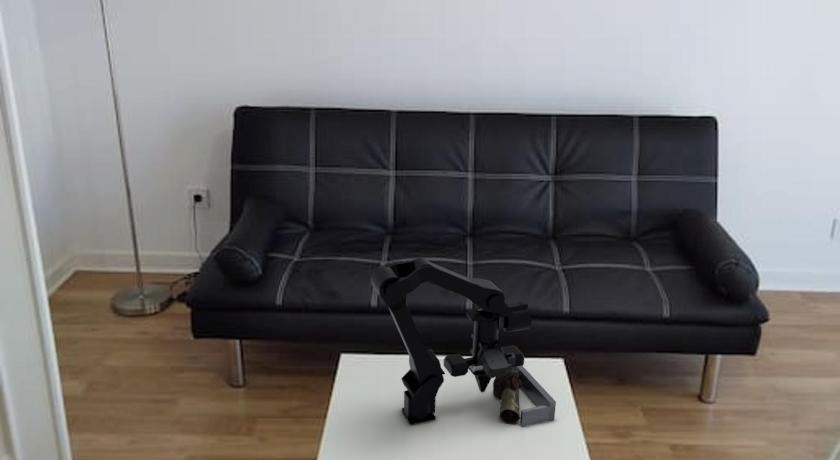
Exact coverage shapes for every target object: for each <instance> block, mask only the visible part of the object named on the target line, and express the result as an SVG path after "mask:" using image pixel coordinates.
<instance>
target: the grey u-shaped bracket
mask: <svg viewBox="0 0 840 460" xmlns="http://www.w3.org/2000/svg"><path fill="white" fill-rule="evenodd" d="M511 371H512V372H515V371H516V372H517V373H518V376H519V379H520V384H521V388H520V389H519V390H521V391H522V393H523V394H524V395H525V396H526V397H527V399H528V400H529V401H530V402H531V403H532V404H533V405H534V407H532V406H531V407H529V408H524V409H520V420H519V425H520V426H521V428H523V427H527V426H533V425H537V424H542V423H543V424H544V423H547V422H552V421H555V416H556V406H557V402H556V400H555V399H554V398H553V397H552V396H551V395H550V393H548V391H546V389H545V388H544V387H543V386H542V385H541V383H539V382H538V381H537V379H535V378H534V377H533V375H532V374H530V372H529V370H527V369H526V368H525V367H524V365H523V366H517V367H513V369H512V370H511Z"/></svg>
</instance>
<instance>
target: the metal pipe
mask: <svg viewBox="0 0 840 460" xmlns="http://www.w3.org/2000/svg"><path fill="white" fill-rule="evenodd" d="M492 387H493V388H492V394H493V397H494V398H495V399H497V400H499V401H500V409H499V416H498V417H499V419H500V421H501V422H503V423H504V424H507V425H517V424H518V423H519V422H520V415H521V409H520V395H519V394H520V390H521V389H520V388H521V384H520V379H519V376H518V373H517V372H516V371H515V372H512V371H511V370H507V372H506V375H505V376H498V377H494V379H493V383H492Z"/></svg>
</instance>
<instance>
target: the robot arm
mask: <svg viewBox="0 0 840 460" xmlns="http://www.w3.org/2000/svg"><path fill="white" fill-rule="evenodd" d="M401 278H402V279H401ZM427 282H428V283H430V284H432V285H435V286H438V287H440V288H442V289H445V290H448V291H450V292H452V293H456V295H460V296H462V297H465V298H466V299H468V300H470V301H471V302H472V303H473V304H475V306H477V307H479V309H477V307H475V306H473V307H472V308H471V309H470V310H469V311H467V312H466V313H465V314H466V317H468V319H470V321H471V322H474V326H473V333H472V332H471V339H472V341H473V342H472V348H470V354H471V355H472V356H471V357H466V358H464V356H463V355H462V354H461V353H454V354H447V355H446V356H445V357H444V359H443V367H444V368H445V370H446V371H447V372H448V373H449V374H450V375H449V376H450V377H455V378H456V377H463V376H466V375H467V373H468V372H469V371H470V372H471V374H472V375H473V376H474V378H475V380H476V381H475V382H476V384H477V387H478V390H479V391H480V393H484V392H485V393H486V389H487V388H488V385H489V384H490V381H491V379H495V377H498V376H505V375H506V372H507V370H512V369H513V367H517V366H523V367H524V365H525V355H524V353H523V352H521V350H520V349H519V348H518V347H517V346H516V345H515V344H512V345H505V346H501V341H500V340H499V330H500V329H502V330H503V331H504V333H510V332H511V333H512V332H518V331H523V330H529V329H530V328H531V326H532V318H531V314H530V313H531V312H530V310H529V304H528V303H527V302H526V301H525V300H520V301H517V302H511V303H506V302H505V293H504V292H503V291H502V290H501V289H500V288H499V287H498V286H496V285H495V284H494V283H493V282H492V281H491V280H489V279H484V278H480V277H474V278H473V277H472V278H471V277H468V276H465V275H462V274H460V273H457V272H455V271H452V270H450V269H448V268H445V267H443V266H440V265H439V264H436V263H433V262H431V261H429V260H428V259H426V258H424V257H418V258H415V259H412V260H409V261H403V262H396V263H393V264H391V265H388V266H381V267H379V268H377V269H376V270H374V272H373V273H372V274H371V277H370V284H371V286H372V287H373V288H374V290H375V291H376V293H377V294H378V295H379V297H380V298H381V300H382V301H383V303H384V304H385V306H386V307H387V308H388V310H389V312H390V315H391V317H392V319H393V322H394V323H395V326H396V328H397V330H398V332H399V335H400V337H401V339H402V342H403V344H404V346H405V349H406V351H407V353H408V358H409V359H408V363H409V367H410V369H409V370H408V371H406V373H405V374H404V375H403V376H402V377H401V381H402V384H403V386H404V387H405V388H406V390H404V391H403V407H402V408H401V412H402V414H403V415H404V418H405V419H406V420H407V422H408V424H409V425H417V424H422V423H426V422H427V423H428V422H432V421H435V420H436V419H437V417H436V415H435V413H436V398H437V395H438V392H439V390H440V388H441V387H442V385H443V383H444V381H445V379H444V376H443V375H446V372H445V371H444V370H443V368H442V367H441V362H440V359H439V358H438V357H437V355H436V354H435V353H434V352H433V350H432V349H431V348H428V349H426V347H425V345H424V342H423V340H422V338H421V336H420V333H419V331H418V329H417V326H416V325H415V322H414V321H415V320H414V319H413V316H412V315H411V312H410V310H409V308H408V296H407V295H408V294H410V293H412V292H414V291H415V290H416V289H418V287H419V286H420V285H421V284H424V283H427Z"/></svg>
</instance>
